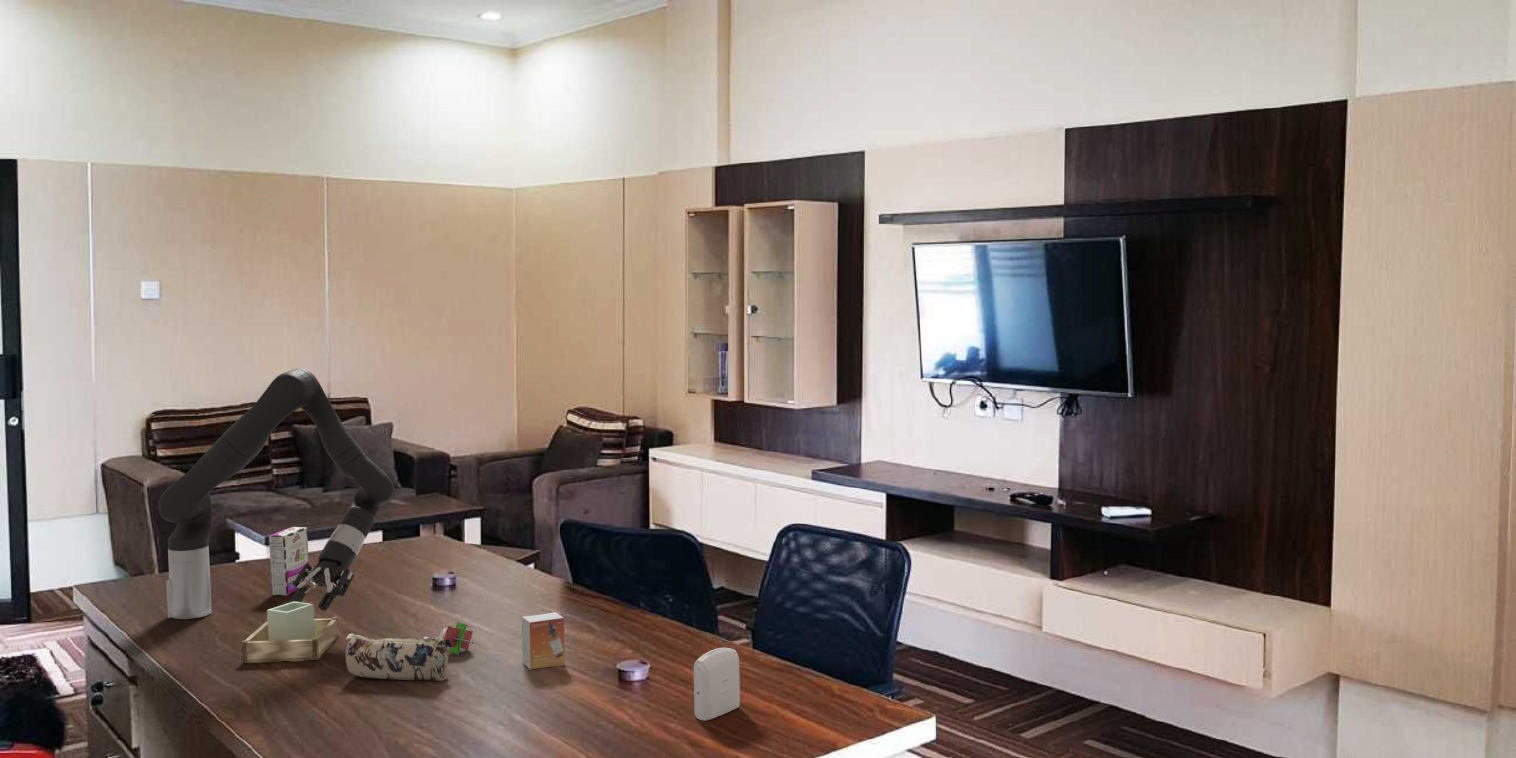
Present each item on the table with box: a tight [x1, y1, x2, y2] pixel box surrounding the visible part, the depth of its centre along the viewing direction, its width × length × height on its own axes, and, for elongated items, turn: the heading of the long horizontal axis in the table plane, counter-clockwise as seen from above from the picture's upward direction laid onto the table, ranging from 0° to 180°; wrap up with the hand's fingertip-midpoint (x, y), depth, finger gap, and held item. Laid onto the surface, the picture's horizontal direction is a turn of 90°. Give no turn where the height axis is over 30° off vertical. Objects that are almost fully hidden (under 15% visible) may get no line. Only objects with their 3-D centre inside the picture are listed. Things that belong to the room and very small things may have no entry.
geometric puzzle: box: [439, 621, 474, 656], centre depth 278 cm, size 7×7×8 cm
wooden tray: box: [241, 616, 339, 664], centre depth 281 cm, size 16×18×5 cm
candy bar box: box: [268, 526, 310, 597], centre depth 334 cm, size 11×5×16 cm, turn 168°
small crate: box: [266, 601, 315, 641], centre depth 281 cm, size 6×8×9 cm
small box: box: [521, 611, 566, 670], centre depth 269 cm, size 8×6×10 cm
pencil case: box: [345, 633, 452, 682], centre depth 261 cm, size 22×8×10 cm, turn 81°
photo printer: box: [693, 647, 741, 722], centre depth 238 cm, size 10×4×12 cm, turn 140°
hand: (307, 607), depth 286 cm, fingers open, 8 cm apart
